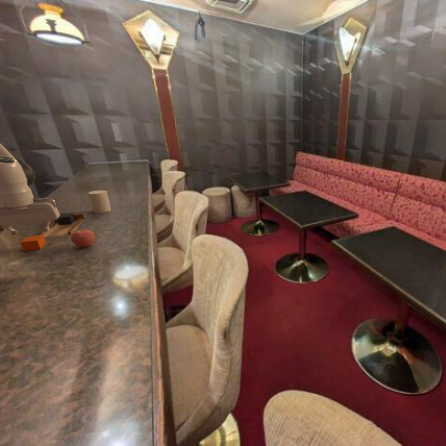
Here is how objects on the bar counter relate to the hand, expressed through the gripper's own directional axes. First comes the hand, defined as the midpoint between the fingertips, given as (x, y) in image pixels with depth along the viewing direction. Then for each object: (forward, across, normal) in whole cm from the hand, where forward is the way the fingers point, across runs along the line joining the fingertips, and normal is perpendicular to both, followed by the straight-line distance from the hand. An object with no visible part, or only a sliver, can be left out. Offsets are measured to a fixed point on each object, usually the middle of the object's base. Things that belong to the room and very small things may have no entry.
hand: (31, 232), depth 100 cm
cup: (+7, -16, -43) cm, 46 cm away
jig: (+7, -4, -20) cm, 21 cm away
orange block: (+7, 0, 0) cm, 7 cm away
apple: (+7, -18, +7) cm, 20 cm away
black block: (+6, -4, -26) cm, 27 cm away
